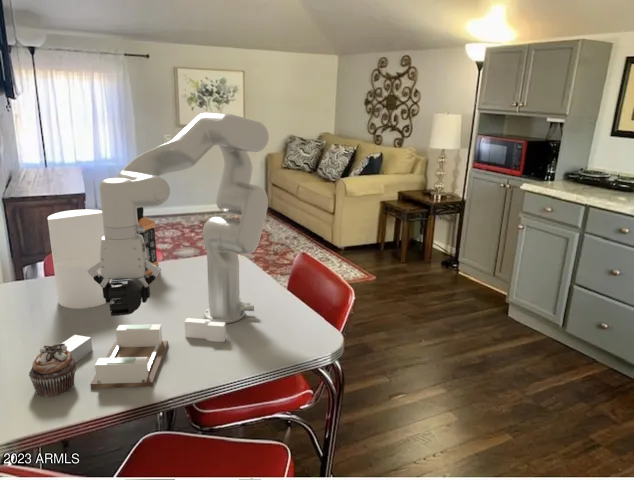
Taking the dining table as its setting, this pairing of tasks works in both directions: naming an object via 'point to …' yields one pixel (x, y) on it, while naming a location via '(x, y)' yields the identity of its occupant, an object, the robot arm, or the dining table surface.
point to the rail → (149, 361)
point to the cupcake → (53, 371)
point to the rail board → (136, 353)
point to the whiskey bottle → (148, 238)
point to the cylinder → (76, 256)
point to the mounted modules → (129, 366)
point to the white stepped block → (205, 329)
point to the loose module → (78, 346)
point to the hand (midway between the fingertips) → (127, 300)
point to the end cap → (125, 296)
